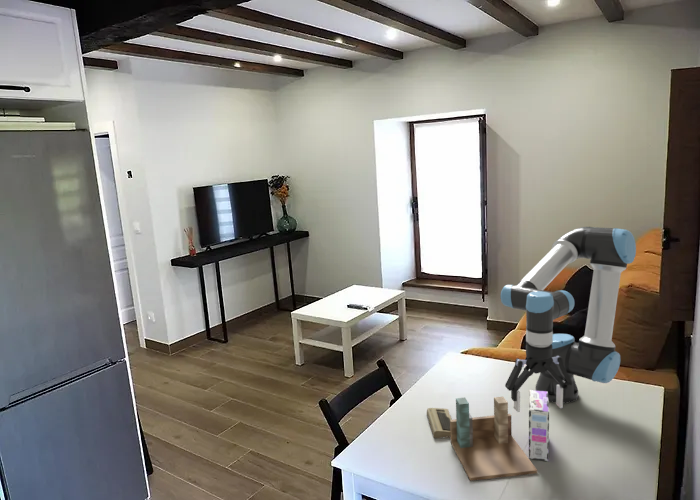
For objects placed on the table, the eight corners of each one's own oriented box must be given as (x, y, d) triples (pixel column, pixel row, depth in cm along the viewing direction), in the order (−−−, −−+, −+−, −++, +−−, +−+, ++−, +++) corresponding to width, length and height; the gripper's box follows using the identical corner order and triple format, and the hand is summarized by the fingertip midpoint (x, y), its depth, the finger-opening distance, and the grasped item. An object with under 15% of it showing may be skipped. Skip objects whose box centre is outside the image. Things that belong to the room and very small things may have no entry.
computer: (458, 438, 167) (457, 428, 167) (433, 439, 167) (433, 430, 167) (448, 414, 183) (448, 405, 182) (426, 415, 183) (426, 407, 182)
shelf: (510, 436, 165) (509, 391, 162) (537, 473, 146) (537, 422, 143) (450, 442, 164) (449, 397, 161) (470, 480, 144) (469, 430, 142)
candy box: (549, 462, 151) (549, 411, 148) (528, 459, 153) (528, 409, 150) (548, 437, 163) (548, 390, 160) (529, 435, 165) (529, 388, 162)
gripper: (572, 335, 156) (570, 398, 160) (494, 341, 154) (494, 405, 158) (585, 344, 149) (583, 410, 152) (503, 350, 147) (503, 417, 151)
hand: (538, 408), depth 155 cm, fingers open, 13 cm apart
